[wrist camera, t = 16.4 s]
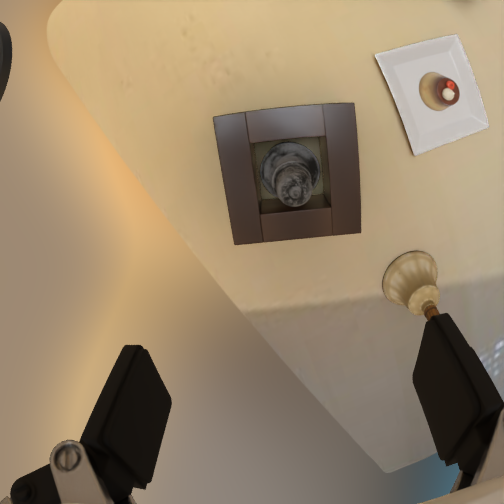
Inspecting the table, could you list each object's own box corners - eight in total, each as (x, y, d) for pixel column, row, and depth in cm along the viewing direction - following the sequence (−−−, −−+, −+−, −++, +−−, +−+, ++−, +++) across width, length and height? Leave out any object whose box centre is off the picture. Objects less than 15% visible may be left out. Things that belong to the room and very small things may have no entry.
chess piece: (250, 165, 34) (238, 195, 23) (288, 127, 32) (297, 139, 21) (288, 201, 35) (294, 247, 25) (326, 166, 33) (352, 197, 22)
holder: (239, 227, 37) (234, 245, 33) (220, 115, 31) (212, 116, 27) (350, 216, 36) (361, 233, 31) (342, 102, 30) (354, 102, 25)
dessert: (452, 34, 24) (473, 29, 20) (484, 126, 29) (507, 131, 24) (371, 55, 27) (386, 49, 23) (410, 154, 32) (428, 162, 27)
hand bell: (421, 307, 41) (465, 389, 26) (373, 299, 40) (409, 389, 26) (445, 257, 37) (507, 331, 23) (396, 244, 37) (452, 324, 22)
